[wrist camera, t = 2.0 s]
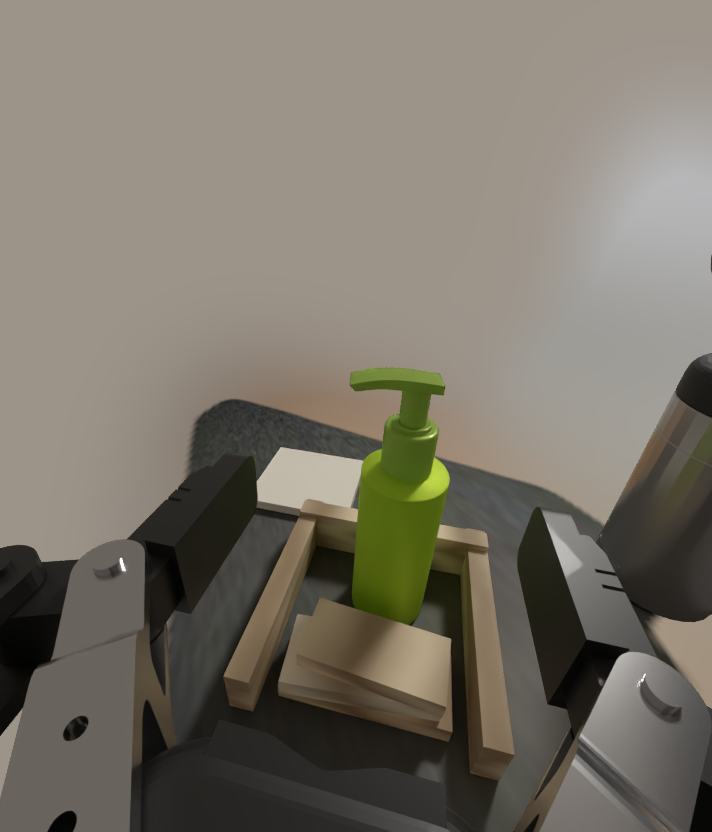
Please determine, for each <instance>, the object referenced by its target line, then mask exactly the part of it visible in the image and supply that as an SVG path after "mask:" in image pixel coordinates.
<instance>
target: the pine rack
mask: <svg viewBox="0 0 712 832" xmlns="http://www.w3.org/2000/svg"><path fill="white" fill-rule="evenodd" d="M357 517H358V509H353V508H348V507H343V506H337V505H332V504H326V503H324V502H323V501H317V500H312V499H307V500H305V501H304V503H303V505H302V507H301V509H300V516H299V518H298V520H297V522H296V524H295V526H294V528H293V531H292V533H291V535H290V537H289V539H288V541H287V543H286V545H285V547H284V550H283V552H282V554H281V556H280V558H279V560H278V562H277V564H276V566H275V568H274V571H273V573H272V575H271V577H270V579H269V581H268V583H267V585H266V587H265V590H264V592H263V594H262V596H261V598H260V600H259V602H258V604H257V606H256V608H255V611H254V613H253V615H252V617H251V619H250V621H249V623H248V625H247V627H246V629H245V632H244V634H243V636H242V638H241V640H240V642H239V644H238V646H237V648H236V651H235V653H234V655H233V657H232V659H231V661H230V663H229V665H228V667H227V669H226V672H225V674H224V676H223V677H224V682H225V686H226V691H227V695H228V700H229V704H230V706H234V707H237V708H241V709H244V710H248V711H251V712H253V711H254V709H255V706H256V703H257V701H258V698H259V695H260V693H261V690H262V688H263V685H264V682H265V680H266V677H267V674H268V672H269V669H270V667H271V664H272V661H273V659H274V656H275V653H276V651H277V648H278V646H279V643H280V640H281V638H282V635H283V632H284V630H285V627H286V625H287V622H288V619H289V617H290V614H291V611H292V609H293V606H294V603H295V601H296V598H297V596H298V593H299V590H300V588H301V585H302V582H303V580H304V577H305V575H306V572H307V569H308V567H309V564H310V561H311V559H312V556H313V554H314V551H315V548H316V546H320V547H325V548H330V549H335V550H340V551H345V552H350V553H355V543H356V530H357ZM487 551H488V540H487V533H485V532H484V531H479V530H474V529H468V528H466V529H461V528H455V527H450V526H445V525H440V527H439V531H438V535H437V540H436V544H435V549H434V553H433V558H432V562H431V566H430V569H433V570H438V571H443V572H447V573H452V574H457V575H460V585H461V605H462V625H463V645H464V665H465V685H466V704H467V724H468V744H469V764H470V773H471V774H475V775H478V776H482V777H486V778H489V779H493V780H496V781H499V780H500V778H501V776H502V775H503V773H504V772H505V770H506V768H507V767H508V765H509V763H510V762H511V760H512V759H513V757H514V755H515V754H514V746H513V739H512V732H511V724H510V717H509V709H508V702H507V695H506V687H505V680H504V672H503V665H502V658H501V650H500V643H499V635H498V628H497V621H496V613H495V606H494V598H493V591H492V583H491V576H490V569H489V561H488V554H487Z"/></svg>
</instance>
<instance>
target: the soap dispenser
mask: <svg viewBox="0 0 712 832" xmlns="http://www.w3.org/2000/svg"><path fill="white" fill-rule="evenodd" d="M350 386H351V387H352V388H353V389H354V390H355V391H364V390H374V389H389V390H401V391H402V399H401V407H400V414H396V415H393V416H391V417H389V418H388V419H387V420H386V422H385V426H384V435H383V445H382V449H380V450H377V451H375V452H373V453H371V454H370V455H368V456H367V457H366V458H365V460H364V461H363V463H362V467H361V478H360V491H359V504H358V517H357V530H356V543H355V556H354V570H353V583H352V601H353V605H354V607H355V609H358V610H361V611H364V612H367V613H370V614H374V615H377V616H380V617H383V618H386V619H390V620H393V621H396V622H399V623H402V624H405V625H410V624H411V623H412V622H413V621H414V620H415V619H416V618H417V616H418V615H419V613H420V610H421V606H422V602H423V597H424V593H425V589H426V584H427V580H428V575H429V571H430V566H431V562H432V558H433V553H434V549H435V544H436V540H437V535H438V531H439V527H440V522H441V518H442V513H443V509H444V504H445V500H446V496H447V491H448V487H449V482H450V478H449V474H448V471H447V469H446V468H445V466H444V465H443V464H442V463H441V462H440V461H439V460H437V459H436V458H435V457H434V455H435V450H436V445H437V440H438V434H439V429H438V426H437V425H436V424H435V423H434V422H433V421H432V420H430V419H429V418H427V416H428V410H429V405H430V399H431V394H436V395H444V390H445V385H444V382H443V380H442V378H441V375H440V374H439V373H433V372H427V371H421V370H414V369H405V368H373V369H366V370H360V371H355V372H352V373H351V377H350Z"/></svg>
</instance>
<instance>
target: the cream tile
mask: <svg viewBox="0 0 712 832" xmlns="http://www.w3.org/2000/svg"><path fill="white" fill-rule="evenodd" d="M362 463H363V461H361V460H355V459H349V458H343V457H337V456H331V455H325V454H319V453H313V452H307V451H301V450H294V449H288V448H282V447H281V448H280V449H279V451H278V452H277V454H276V455H275V456H274V458H273V459H272V461H271V462H270V464H269V465H268V467H267V468H266V469H265V471H264V472H263V474H262V475H261V477H260V478H259V479H258V481H257V493H258V501H257V506H256V508H261V509H266V510H271V511H276V512H282V513H287V514H292V515H297V516H300V509H301V507H302V505H303V503H304V501H305V500H307V499H312V500H317V501H323V502H324V503H326V504H332V505H337V506H343V507H348V508H352V506H353V503H354V500H355V497H356V493H357V490H358V487H359V484H360V478H361V467H362Z"/></svg>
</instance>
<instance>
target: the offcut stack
mask: <svg viewBox="0 0 712 832" xmlns="http://www.w3.org/2000/svg"><path fill="white" fill-rule="evenodd" d="M450 650H451V639H450V638H447V637H444V636H440V635H437V634H434V633H431V632H428V631H424V630H421V629H418V628H415V627H412V626H409V625H405V624H402V623H399V622H396V621H393V620H390V619H386V618H383V617H380V616H377V615H374V614H370V613H367V612H364V611H361V610H358V609H355V608H351V607H348V606H345V605H342V604H339V603H336V602H332V601H329V600H326V599H323V598H320V599H319V601H318V604H317V606H316V608H315V611H314V613H313V615H312V616H307V615H300V614H298V615H297V618H296V622H295V625H294V629H293V632H292V636H291V639H290V643H289V646H288V650H287V653H286V657H285V660H284V664H283V667H282V671H281V674H280V678H279V681H278V685H277V686H278V696H281V697H285V698H289V699H292V700H296V701H300V702H304V703H307V704H311V705H315V706H318V707H322V708H326V709H329V710H333V711H337V712H340V713H344V714H348V715H351V716H355V717H359V718H362V719H366V720H370V721H373V722H377V723H381V724H384V725H388V726H392V727H395V728H399V729H403V730H406V731H410V732H414V733H417V734H421V735H425V736H429V737H432V738H436V739H440V740H443V741H447V742H449V740H450V737H451V735H452V686H451V653H450Z"/></svg>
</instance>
